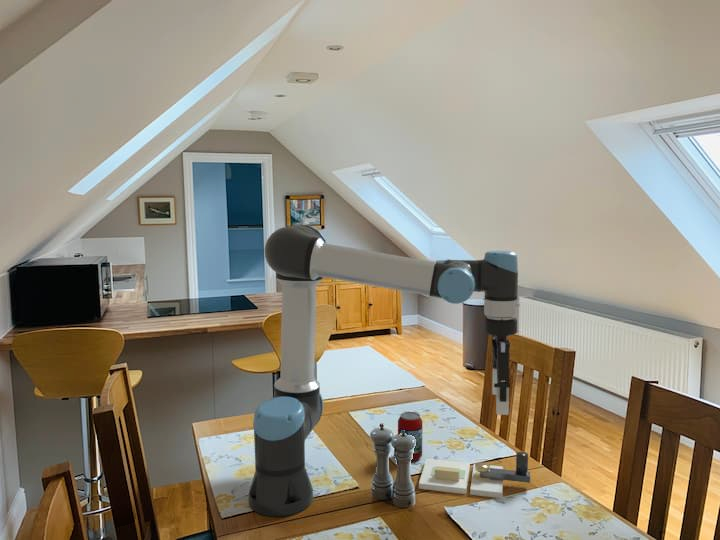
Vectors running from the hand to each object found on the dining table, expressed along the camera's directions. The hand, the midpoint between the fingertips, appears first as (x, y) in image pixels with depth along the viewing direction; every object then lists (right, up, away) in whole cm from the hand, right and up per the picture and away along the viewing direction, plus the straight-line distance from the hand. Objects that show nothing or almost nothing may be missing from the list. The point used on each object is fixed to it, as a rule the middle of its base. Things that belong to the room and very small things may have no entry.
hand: (500, 403), depth 138 cm
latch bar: (+2, -20, +5) cm, 20 cm away
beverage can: (-20, -20, +21) cm, 35 cm away
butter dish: (-12, -21, +9) cm, 26 cm away
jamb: (-2, -21, +6) cm, 22 cm away
